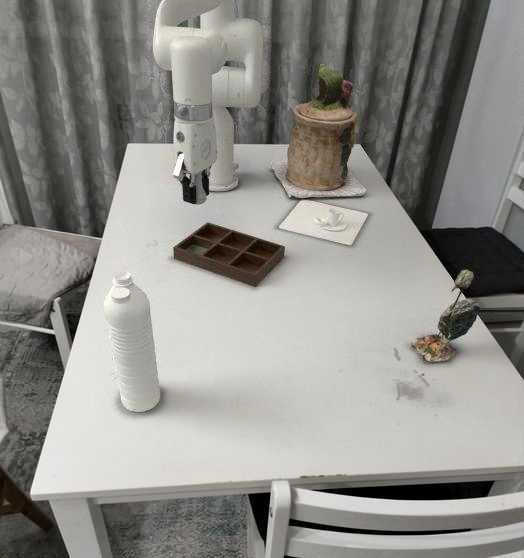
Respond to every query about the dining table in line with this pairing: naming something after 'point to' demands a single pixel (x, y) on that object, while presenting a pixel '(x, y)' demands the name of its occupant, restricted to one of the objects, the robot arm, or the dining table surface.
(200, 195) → the rook chess piece
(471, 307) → the plant with pod
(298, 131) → the cookie jar
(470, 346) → the dining table surface
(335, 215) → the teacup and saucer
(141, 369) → the water bottle
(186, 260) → the tray
